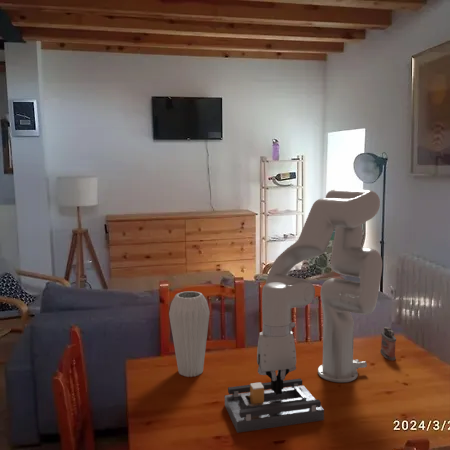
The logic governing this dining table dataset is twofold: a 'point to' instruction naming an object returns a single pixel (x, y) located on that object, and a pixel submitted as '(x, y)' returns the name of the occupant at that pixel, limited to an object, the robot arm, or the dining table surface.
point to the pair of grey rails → (275, 408)
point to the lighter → (388, 344)
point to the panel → (273, 419)
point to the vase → (189, 331)
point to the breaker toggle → (256, 393)
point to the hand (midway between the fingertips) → (277, 391)
